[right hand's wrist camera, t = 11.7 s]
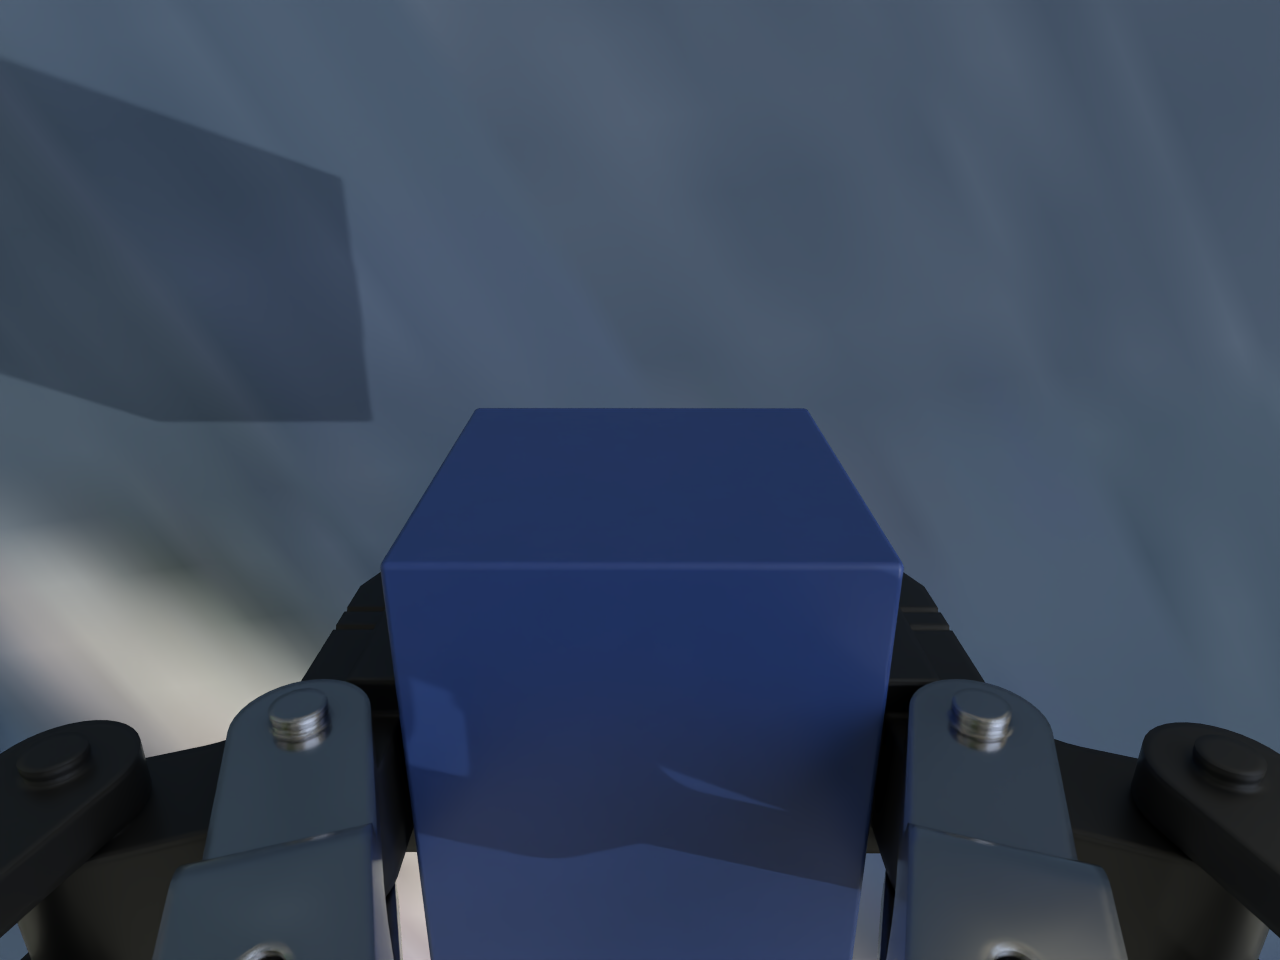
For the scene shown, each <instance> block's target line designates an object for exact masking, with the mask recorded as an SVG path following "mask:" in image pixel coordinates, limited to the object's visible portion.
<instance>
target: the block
mask: <svg viewBox="0 0 1280 960" xmlns="http://www.w3.org/2000/svg"><path fill="white" fill-rule="evenodd" d="M380 570H381V577H382V585H383V593H384V601H385V608H386V616H387V624H388V632H389V639H390V647H391V655H392V663H393V670H394V678H395V686H396V694H397V701H398V709H399V717H400V725H401V732H402V740H403V748H404V756H405V763H406V771H407V779H408V787H409V794H410V802H411V810H412V818H413V825H414V833H415V841H416V849H417V856H418V864H419V872H420V880H421V887H422V895H423V903H424V911H425V918H426V926H427V934H428V942H429V949H430V957H431V960H852V956H853V949H854V941H855V934H856V926H857V919H858V911H859V903H860V896H861V888H862V881H863V873H864V865H865V858H866V850H867V843H868V835H869V828H870V820H871V812H872V805H873V797H874V790H875V782H876V774H877V767H878V759H879V752H880V744H881V736H882V729H883V721H884V714H885V706H886V699H887V691H888V683H889V676H890V668H891V661H892V653H893V645H894V638H895V630H896V623H897V615H898V608H899V600H900V592H901V585H902V577H903V570H904V567H903V564H902V562H901V560H900V559H899V557H898V555H897V554H896V552H895V551H894V549H893V547H892V546H891V544H890V542H889V541H888V539H887V538H886V536H885V534H884V533H883V531H882V530H881V528H880V526H879V525H878V523H877V521H876V520H875V518H874V517H873V515H872V513H871V512H870V510H869V509H868V507H867V505H866V504H865V502H864V501H863V499H862V497H861V496H860V494H859V492H858V491H857V489H856V488H855V486H854V484H853V483H852V481H851V480H850V478H849V476H848V475H847V473H846V471H845V470H844V468H843V467H842V465H841V463H840V462H839V460H838V459H837V457H836V455H835V454H834V452H833V451H832V449H831V447H830V446H829V444H828V442H827V441H826V439H825V438H824V436H823V434H822V433H821V431H820V430H819V428H818V426H817V425H816V423H815V421H814V420H813V418H812V417H811V415H810V413H809V412H808V410H806V409H747V408H479V409H476V410H475V412H474V413H473V415H472V416H471V418H470V420H469V421H468V423H467V425H466V426H465V428H464V429H463V431H462V433H461V434H460V436H459V438H458V439H457V441H456V442H455V444H454V446H453V447H452V449H451V451H450V452H449V454H448V456H447V457H446V459H445V460H444V462H443V464H442V465H441V467H440V469H439V470H438V472H437V473H436V475H435V477H434V478H433V480H432V482H431V483H430V485H429V486H428V488H427V490H426V491H425V493H424V495H423V496H422V498H421V500H420V501H419V503H418V504H417V506H416V508H415V509H414V511H413V513H412V514H411V516H410V517H409V519H408V521H407V522H406V524H405V526H404V527H403V529H402V530H401V532H400V534H399V535H398V537H397V539H396V540H395V542H394V544H393V545H392V547H391V548H390V550H389V552H388V553H387V555H386V557H385V558H384V560H383V561H382V564H381V567H380Z"/></svg>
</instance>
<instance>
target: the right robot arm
mask: <svg viewBox="0 0 1280 960" xmlns="http://www.w3.org/2000/svg"><path fill="white" fill-rule="evenodd" d="M405 852H417V849H416V841H415V833H414V825H413V818H412V810H411V802H410V794H409V787H408V779H407V771H406V763H405V756H404V748H403V740H402V732H401V725H400V717H399V709H398V701H397V694H396V686H395V678H394V670H393V663H392V655H391V647H390V639H389V632H388V624H387V616H386V608H385V601H384V593H383V585H382V577H381V572H380V573H379V574H377V575H376V576H374V577H373V578H372V579H370V580H369V581H367V582H366V583H364V584H363V585H361V586H360V588H359V589H358V591H357V593H356V594H355V596H354V597H353V599H352V601H351V602H350V604H349V605H348V607H347V612H344V613H343V615H342V617H341V618H340V620H339V621H338V623H337V625H336V630H333V631H332V633H331V634H330V636H329V637H328V639H327V641H326V642H325V644H324V645H323V647H322V649H321V650H320V652H319V653H318V655H317V657H316V658H315V660H314V661H313V663H312V665H311V666H310V668H309V669H308V671H307V673H306V674H305V676H304V677H303V679H302V681H301V682H296V683H292V684H288V685H285V686H282V687H279V688H277V689H274V690H272V691H269V692H267V693H265V694H264V695H262V696H260V697H258V698H256V699H255V700H253V701H252V702H250V703H249V704H248V705H247V706H245V707H244V708H243V709H242V710H241V711H240V712H239V713H238V714H237V715H236V716H235V718H234V719H233V721H232V722H231V724H230V726H229V729H228V732H227V737H226V740H224V741H221V742H218V743H214V744H210V745H206V746H201V747H197V748H192V749H187V750H182V751H177V752H172V753H168V754H163V755H158V756H153V757H148V758H145V755H144V751H143V748H142V744H141V740H140V737H139V735H138V733H137V732H136V731H135V730H134V729H133V728H132V727H130V726H128V725H127V724H124V723H120V722H116V721H109V720H92V721H83V722H77V723H72V724H67V725H63V726H60V727H56V728H53V729H50V730H47V731H44V732H41V733H39V734H37V735H34V736H32V737H30V738H27V739H26V740H24V741H22V742H20V743H18V744H16V745H14V746H12V747H11V748H9V749H8V750H6V751H4V752H3V753H1V754H0V938H1V937H2V936H3V935H4V934H5V933H6V932H7V931H8V930H10V929H11V928H12V927H13V926H14V925H15V924H16V923H18V926H19V928H20V931H21V934H22V936H23V939H24V942H25V944H26V947H27V950H28V953H27V954H26V955H25V956H24V957H23V958H22V959H21V960H403V954H402V940H401V926H400V912H399V899H398V892H397V885H396V879H397V877H398V874H399V871H400V868H401V865H402V862H403V858H404V855H405ZM866 853H881V856H882V859H883V862H884V865H885V868H886V871H885V878H884V885H883V892H882V899H881V912H880V926H879V940H878V954H877V960H1259V959H1258V958H1259V955H1260V952H1261V950H1262V947H1263V944H1264V942H1265V939H1266V937H1267V934H1268V931H1269V929H1270V930H1272V931H1273V932H1274V933H1275V934H1276V935H1277V936H1278V937H1279V938H1280V754H1278V753H1277V752H1275V751H1274V750H1272V749H1270V748H1269V747H1267V746H1265V745H1263V744H1261V743H1259V742H1257V741H1255V740H1253V739H1250V738H1248V737H1246V736H1243V735H1241V734H1238V733H1235V732H1232V731H1229V730H1226V729H1222V728H1219V727H1215V726H1210V725H1205V724H1198V723H1188V722H1185V723H1169V724H1164V725H1161V726H1157V727H1155V728H1154V729H1152V730H1150V731H1149V732H1148V733H1147V734H1146V735H1145V738H1144V740H1143V743H1142V747H1141V750H1140V754H1139V758H1138V759H1137V758H1132V757H1128V756H1123V755H1118V754H1113V753H1108V752H1103V751H1099V750H1094V749H1089V748H1084V747H1080V746H1076V745H1072V744H1068V743H1065V742H1062V741H1059V740H1056V739H1054V737H1053V732H1052V729H1051V726H1050V724H1049V722H1048V721H1047V719H1046V718H1045V716H1044V715H1043V714H1042V713H1041V712H1040V711H1039V710H1038V709H1037V708H1036V707H1035V706H1033V705H1032V704H1031V703H1030V702H1028V701H1027V700H1025V699H1024V698H1022V697H1020V696H1018V695H1016V694H1015V693H1013V692H1011V691H1008V690H1006V689H1003V688H1001V687H998V686H995V685H992V684H988V683H985V682H984V680H983V678H982V677H981V675H980V674H979V672H978V671H977V669H976V667H975V666H974V664H973V663H972V661H971V659H970V658H969V656H968V655H967V653H966V652H965V650H964V648H963V647H962V645H961V644H960V642H959V641H958V639H957V637H956V636H955V634H954V633H953V631H950V630H949V625H948V623H947V622H946V620H945V619H944V617H943V615H942V614H941V612H938V607H937V606H936V604H935V603H934V601H933V600H932V598H931V596H930V595H929V593H928V592H927V590H926V589H925V587H924V586H922V585H921V584H920V583H918V582H917V581H915V580H914V579H912V578H911V577H909V576H908V575H907V574H905V573H904V572H903V577H902V585H901V592H900V600H899V608H898V615H897V623H896V630H895V638H894V645H893V653H892V661H891V668H890V676H889V683H888V691H887V699H886V706H885V714H884V721H883V729H882V736H881V744H880V752H879V759H878V767H877V774H876V782H875V790H874V797H873V805H872V812H871V820H870V828H869V835H868V843H867V850H866Z"/></svg>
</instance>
